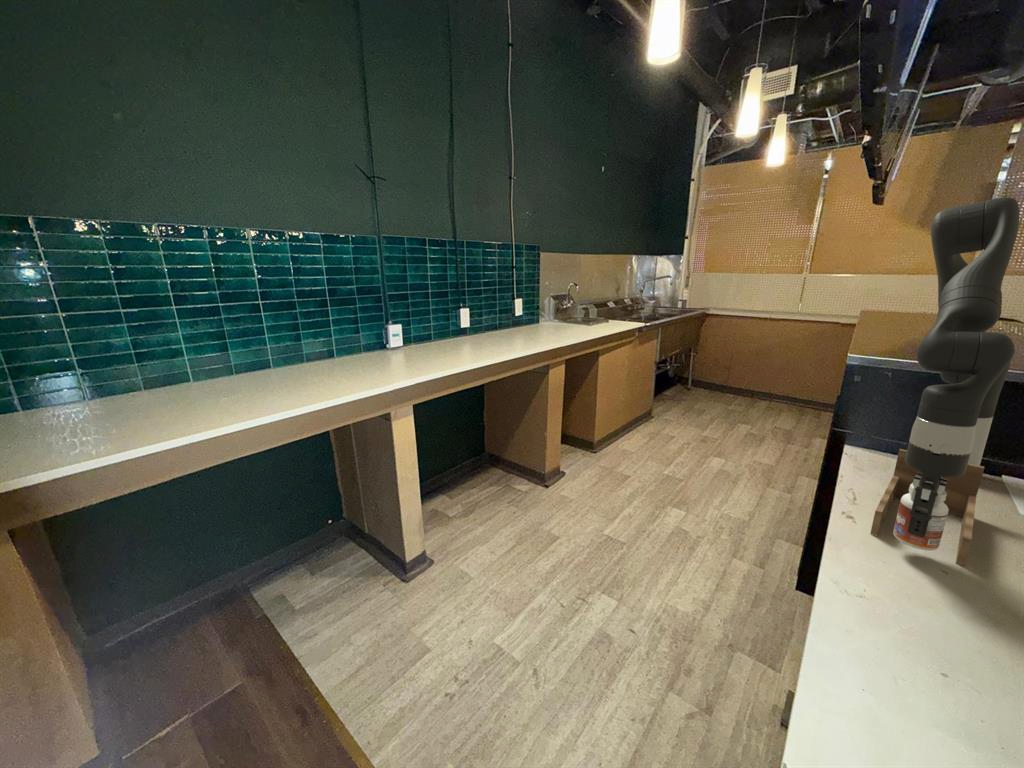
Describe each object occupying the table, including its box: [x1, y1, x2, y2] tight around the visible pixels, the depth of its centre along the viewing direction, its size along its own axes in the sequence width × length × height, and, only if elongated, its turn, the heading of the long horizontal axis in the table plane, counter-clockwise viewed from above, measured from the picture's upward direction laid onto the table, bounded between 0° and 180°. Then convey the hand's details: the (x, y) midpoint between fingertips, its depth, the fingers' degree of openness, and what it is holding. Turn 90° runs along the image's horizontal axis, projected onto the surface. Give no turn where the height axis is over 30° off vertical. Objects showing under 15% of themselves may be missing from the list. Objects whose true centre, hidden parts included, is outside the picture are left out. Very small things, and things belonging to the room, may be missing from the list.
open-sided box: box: [870, 448, 985, 567], centre depth 83 cm, size 23×13×12 cm, turn 130°
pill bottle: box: [892, 483, 949, 552], centre depth 73 cm, size 6×6×11 cm
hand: (918, 526), depth 74 cm, fingers closed on pill bottle, 6 cm apart
